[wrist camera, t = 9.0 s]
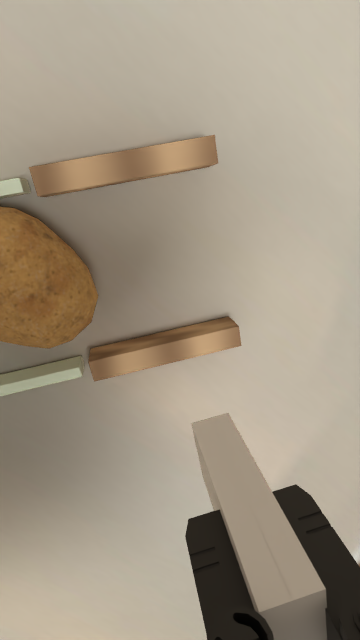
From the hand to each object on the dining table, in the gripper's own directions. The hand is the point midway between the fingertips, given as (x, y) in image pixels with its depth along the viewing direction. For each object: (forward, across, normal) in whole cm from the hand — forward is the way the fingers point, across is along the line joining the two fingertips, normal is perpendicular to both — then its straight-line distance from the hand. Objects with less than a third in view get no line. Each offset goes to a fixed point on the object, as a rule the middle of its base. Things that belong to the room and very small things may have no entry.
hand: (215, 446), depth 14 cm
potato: (+21, -11, +6) cm, 24 cm away
